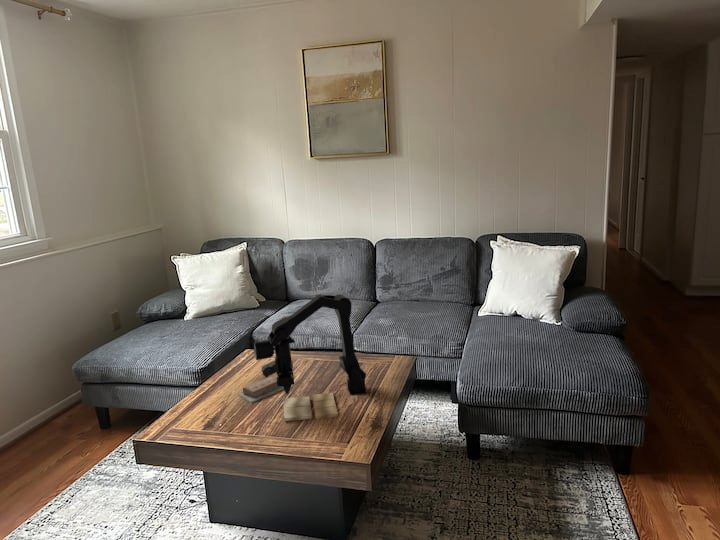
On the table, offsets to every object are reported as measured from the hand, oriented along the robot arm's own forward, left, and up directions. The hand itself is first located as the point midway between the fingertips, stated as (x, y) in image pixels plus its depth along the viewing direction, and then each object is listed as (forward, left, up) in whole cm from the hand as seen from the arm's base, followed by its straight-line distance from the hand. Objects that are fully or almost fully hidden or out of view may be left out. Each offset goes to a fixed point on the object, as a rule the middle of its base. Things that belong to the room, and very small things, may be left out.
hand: (287, 393), depth 201 cm
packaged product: (+10, -16, -6) cm, 19 cm away
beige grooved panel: (-3, +5, -5) cm, 8 cm away
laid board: (-13, +5, -5) cm, 15 cm away
